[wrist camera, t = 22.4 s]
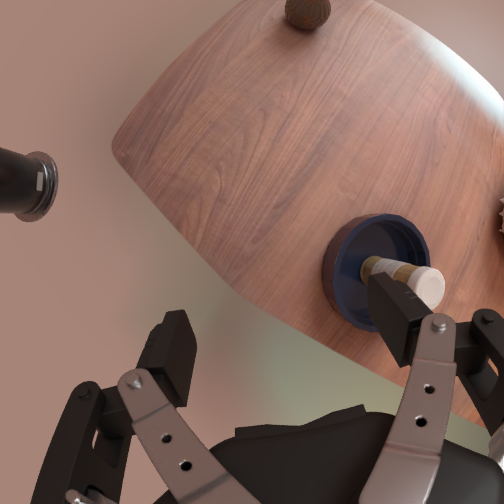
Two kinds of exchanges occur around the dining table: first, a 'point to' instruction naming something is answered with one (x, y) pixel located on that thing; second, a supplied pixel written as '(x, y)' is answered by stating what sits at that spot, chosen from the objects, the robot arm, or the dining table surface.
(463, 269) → the dining table surface
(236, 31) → the dining table surface
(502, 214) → the bowl
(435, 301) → the sprinkles bottle
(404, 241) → the pan
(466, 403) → the dining table surface
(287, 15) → the vase
